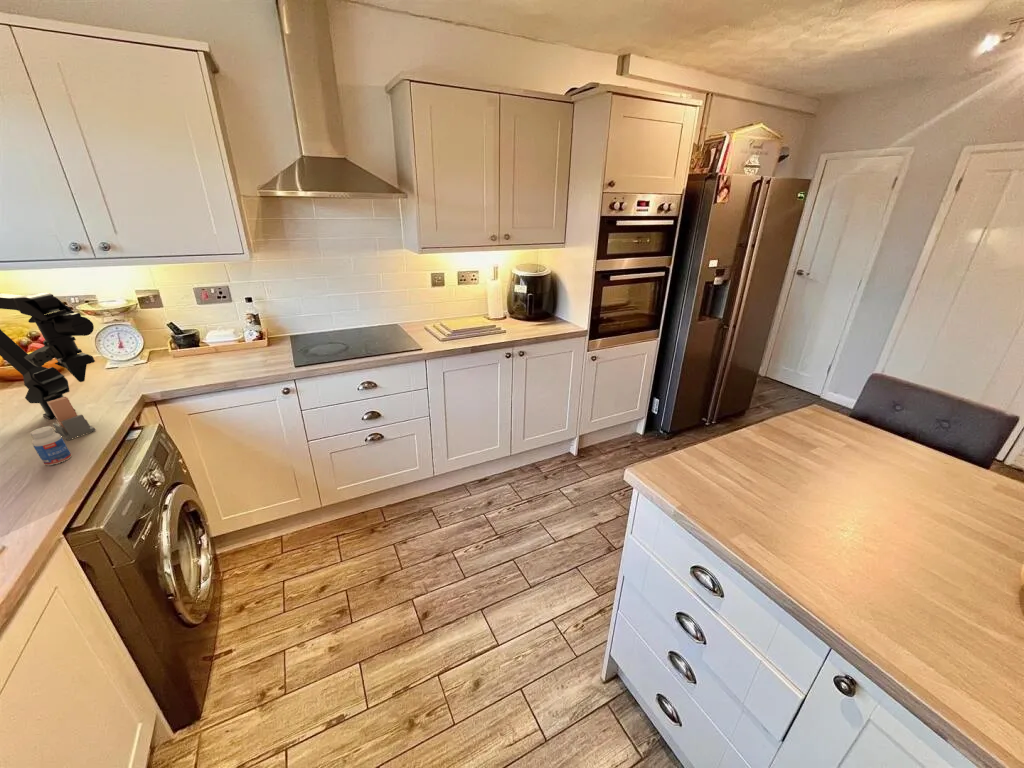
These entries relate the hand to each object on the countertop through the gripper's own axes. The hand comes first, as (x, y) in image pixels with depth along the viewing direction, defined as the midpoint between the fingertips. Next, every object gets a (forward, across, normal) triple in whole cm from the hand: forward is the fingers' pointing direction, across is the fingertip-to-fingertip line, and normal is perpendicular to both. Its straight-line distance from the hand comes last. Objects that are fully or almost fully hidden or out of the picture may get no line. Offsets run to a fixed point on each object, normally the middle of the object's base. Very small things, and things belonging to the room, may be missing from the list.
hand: (82, 381), depth 132 cm
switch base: (+12, +8, -8) cm, 17 cm away
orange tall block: (+11, +8, -8) cm, 16 cm away
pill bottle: (+12, +24, -17) cm, 32 cm away
